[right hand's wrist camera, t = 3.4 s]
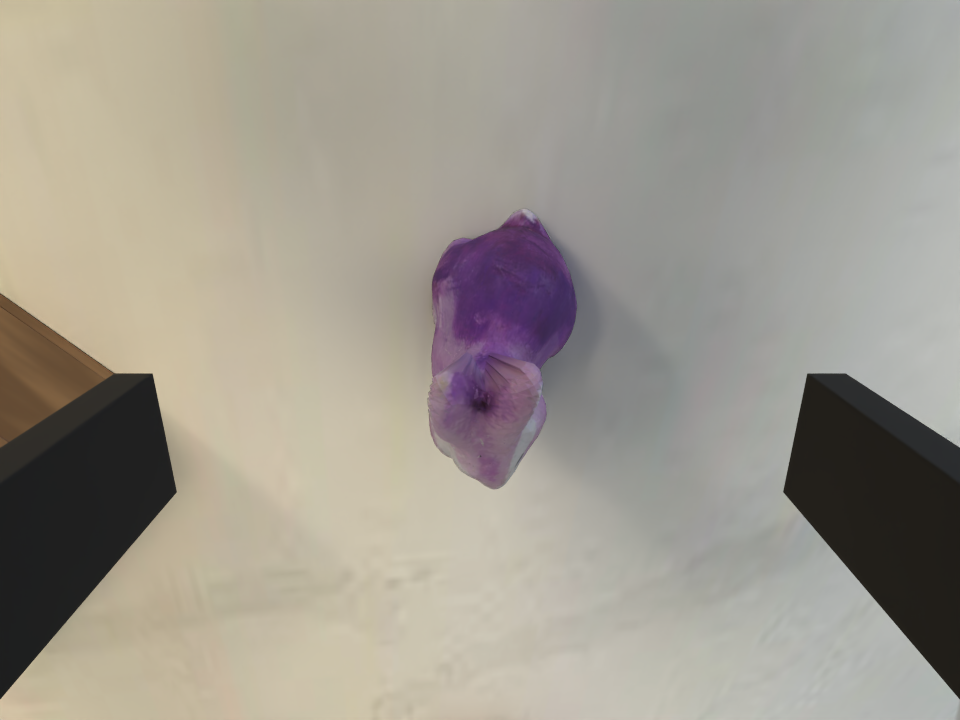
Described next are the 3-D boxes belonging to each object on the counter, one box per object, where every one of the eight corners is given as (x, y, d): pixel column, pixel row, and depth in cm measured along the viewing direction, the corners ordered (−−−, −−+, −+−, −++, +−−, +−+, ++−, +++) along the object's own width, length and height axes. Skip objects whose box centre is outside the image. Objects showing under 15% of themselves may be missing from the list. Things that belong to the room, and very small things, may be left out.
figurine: (472, 413, 39) (468, 570, 25) (387, 276, 36) (327, 367, 21) (606, 344, 37) (683, 472, 23) (528, 195, 34) (563, 236, 20)
